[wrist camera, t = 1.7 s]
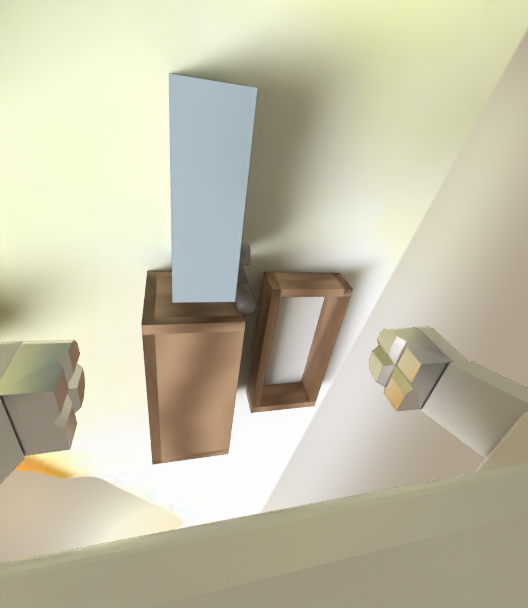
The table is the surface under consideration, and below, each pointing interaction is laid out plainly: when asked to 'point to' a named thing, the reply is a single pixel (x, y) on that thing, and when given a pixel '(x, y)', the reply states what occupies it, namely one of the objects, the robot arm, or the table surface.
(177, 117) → the door
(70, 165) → the table surface
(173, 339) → the cabinet
